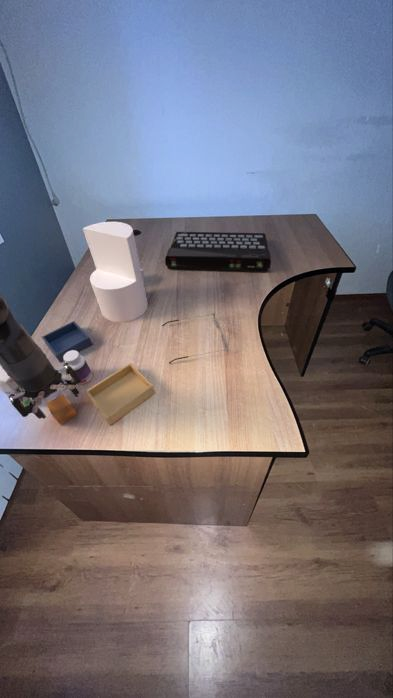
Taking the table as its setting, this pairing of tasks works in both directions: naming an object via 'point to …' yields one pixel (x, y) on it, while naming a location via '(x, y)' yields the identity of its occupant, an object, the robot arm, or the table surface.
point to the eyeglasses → (216, 326)
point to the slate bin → (67, 340)
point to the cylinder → (116, 271)
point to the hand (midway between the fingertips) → (60, 405)
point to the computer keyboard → (219, 252)
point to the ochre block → (61, 409)
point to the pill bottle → (78, 365)
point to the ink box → (10, 386)
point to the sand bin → (120, 393)
